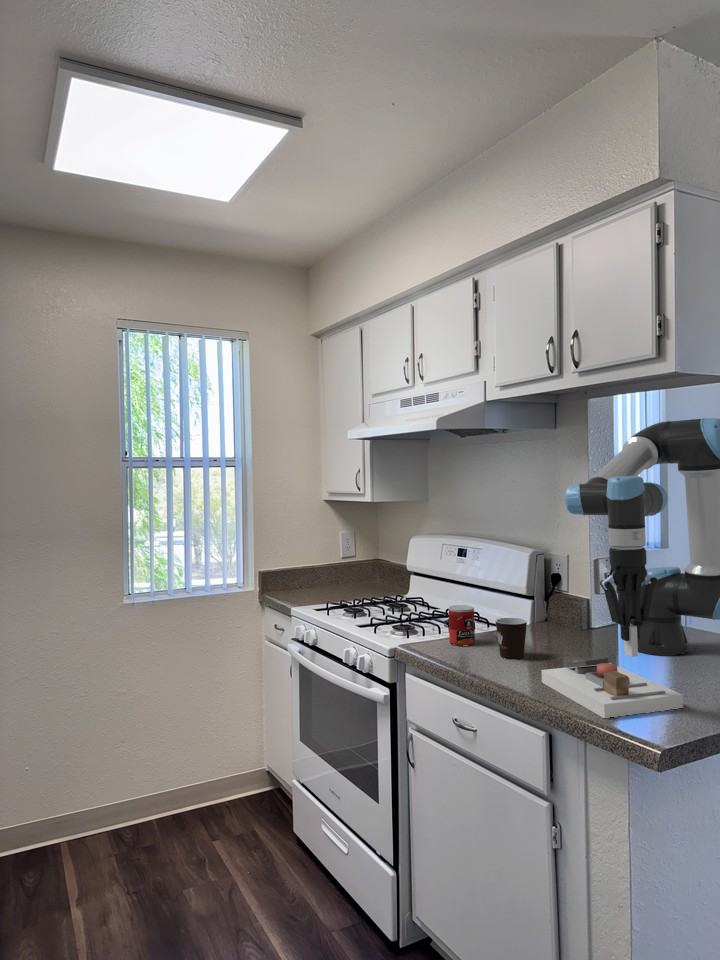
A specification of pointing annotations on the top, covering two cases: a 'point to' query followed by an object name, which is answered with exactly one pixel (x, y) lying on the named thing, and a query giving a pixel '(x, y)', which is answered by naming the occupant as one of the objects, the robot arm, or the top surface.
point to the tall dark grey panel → (586, 663)
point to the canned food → (461, 625)
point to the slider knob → (616, 683)
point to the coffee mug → (511, 637)
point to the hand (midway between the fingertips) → (631, 654)
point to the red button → (605, 668)
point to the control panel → (591, 694)
